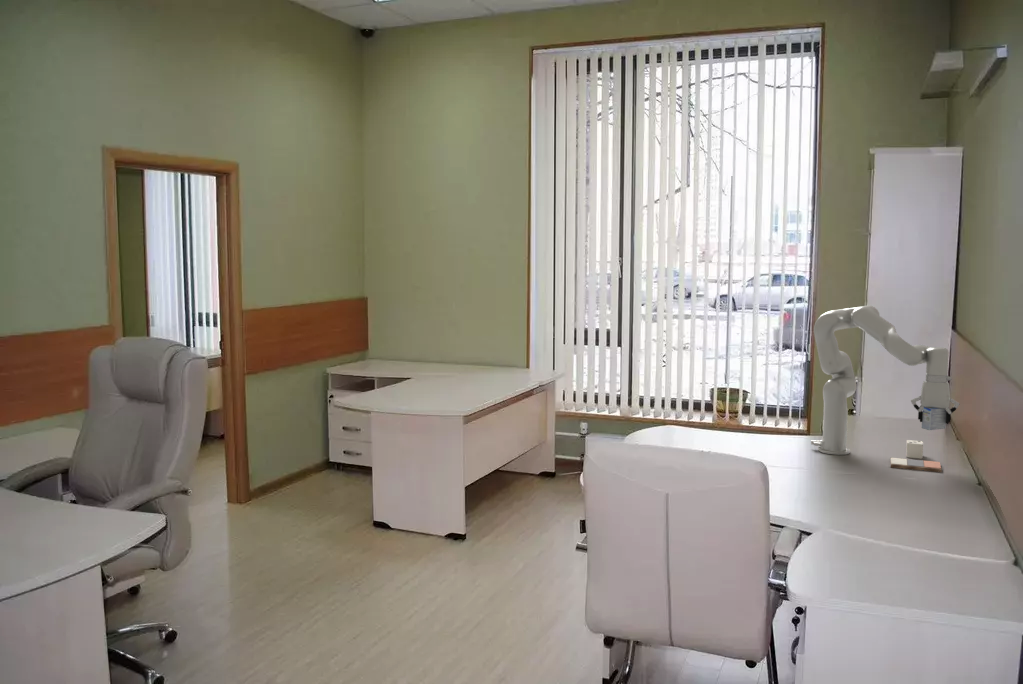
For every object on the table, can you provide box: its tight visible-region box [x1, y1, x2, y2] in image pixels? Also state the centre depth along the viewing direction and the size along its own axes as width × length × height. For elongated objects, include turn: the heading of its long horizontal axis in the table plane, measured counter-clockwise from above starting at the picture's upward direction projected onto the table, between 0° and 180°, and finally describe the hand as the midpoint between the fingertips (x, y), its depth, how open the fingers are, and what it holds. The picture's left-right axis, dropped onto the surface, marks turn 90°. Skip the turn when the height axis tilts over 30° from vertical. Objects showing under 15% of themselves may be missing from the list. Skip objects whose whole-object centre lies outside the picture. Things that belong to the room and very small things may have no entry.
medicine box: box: [921, 407, 947, 431], centre depth 337 cm, size 8×4×9 cm, turn 109°
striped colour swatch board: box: [890, 457, 942, 473], centre depth 341 cm, size 18×12×1 cm, turn 66°
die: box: [905, 439, 924, 460], centre depth 357 cm, size 6×6×6 cm
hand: (933, 422), depth 337 cm, fingers closed on medicine box, 8 cm apart
